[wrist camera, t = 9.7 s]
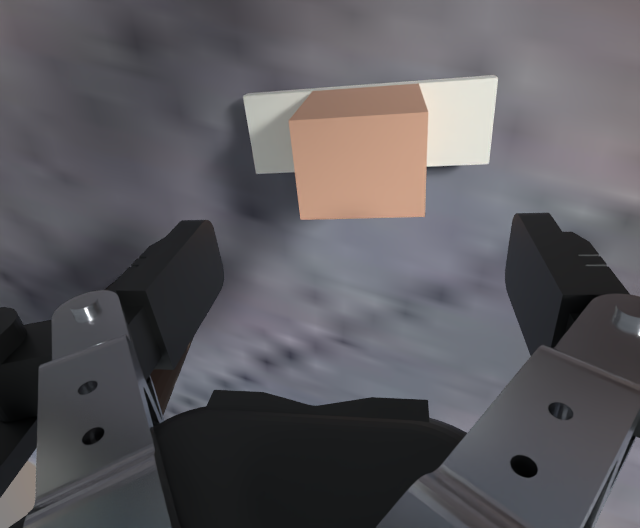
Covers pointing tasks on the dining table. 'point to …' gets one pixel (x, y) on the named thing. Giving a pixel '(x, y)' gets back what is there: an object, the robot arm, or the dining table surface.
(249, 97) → the tan block on plate
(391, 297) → the dining table surface
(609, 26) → the dining table surface
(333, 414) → the robot arm
